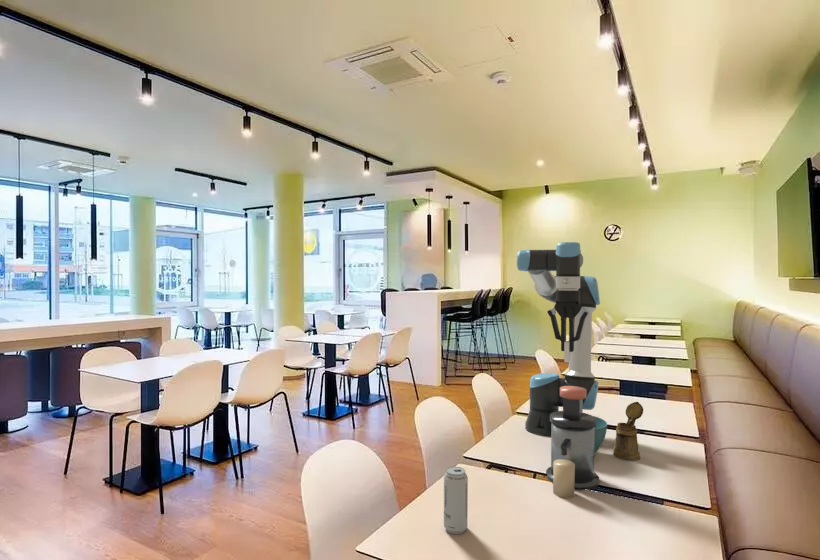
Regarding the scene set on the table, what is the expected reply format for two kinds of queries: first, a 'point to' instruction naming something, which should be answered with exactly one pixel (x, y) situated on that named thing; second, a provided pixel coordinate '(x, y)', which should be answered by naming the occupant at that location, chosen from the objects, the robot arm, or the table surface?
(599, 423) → the teal bowl
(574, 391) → the pump head
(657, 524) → the table surface
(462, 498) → the energy drink can
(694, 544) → the table surface
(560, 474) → the beige rounded cylinder
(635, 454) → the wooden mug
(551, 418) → the airpot
